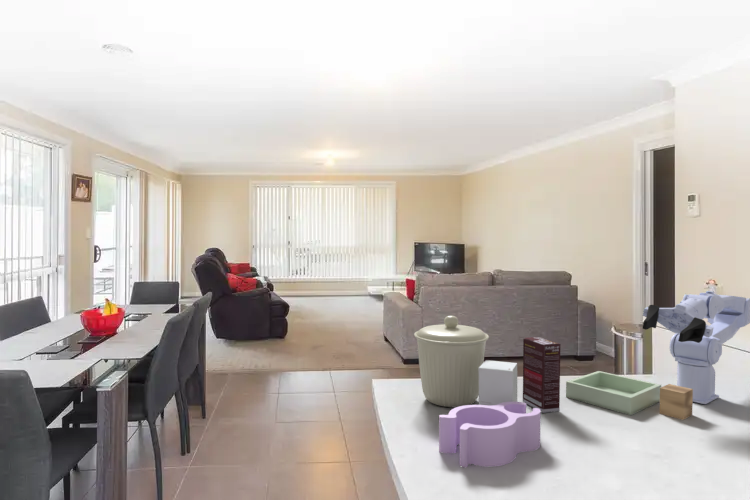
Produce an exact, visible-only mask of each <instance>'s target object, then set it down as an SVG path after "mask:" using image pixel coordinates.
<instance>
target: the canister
mask: <svg viewBox="0 0 750 500" xmlns="http://www.w3.org/2000/svg"><path fill="white" fill-rule="evenodd" d="M443 323H444V324H432V325H427V326H424V327H422V328H420V329H419V330H417V331H415V332H414V333H413V335H414V338H415V339H416V343H417V353H418V364H419V365H418V366H419V372H420V373H419V374H420V382H421V389H422V393H423V395H424V398H426V400H427V401H428V402H429V403H431V404H433V405H436V406H440V407H445V408H456V407H459V406H464V405H474V403H475V402H476V401H477V400H478V399H479V371H478V368H479V367H480V366H481V365H482V364H483V363H484V360H485V355H486V354H485V353H486V343H487V341H488V340H489V339H490V336H489V334H488V333H487V332H484V331H483V330H482V329H481V328H478V327H474V326H471V325H469V326H468V325H464V324H463V325H462V324H459V318H458V317H457V316H455V315H447V316H445V317H444V319H443Z"/></svg>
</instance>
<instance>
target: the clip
mask: <svg viewBox="0 0 750 500" xmlns="http://www.w3.org/2000/svg"><path fill="white" fill-rule="evenodd" d="M541 413H542V412H541V410H540V409H539V408H533V407H532V410H531V412H528V413H527V404H526V403H524V402H523V401H517V402H503V403H500V404H498V405H492V406H488V405H479V404H470V405H464V406H459V407H453V408H451V410H449V412H448V414H439V415H438V417H439V418H438V452H439V453H440V452H443V454H456V453H457V447H458V446H459V467H460V466H462V467H461V468H467V467H468V466H469V465H468V464H470V465H471V464H474V465H473V466H477V465H479V466H478V467H489V466H490V467H500V466H505V465H508V464H510V463H512V462H513V461H514V460H515V459H516V456H517V455H518V454H519V453H520V454H521V453H524V452H533V451H536V450H538V449H539V448H540V447H541ZM458 444H459V445H458ZM457 445H458V446H457Z"/></svg>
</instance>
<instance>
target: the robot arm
mask: <svg viewBox="0 0 750 500" xmlns="http://www.w3.org/2000/svg"><path fill="white" fill-rule="evenodd" d="M642 312H643V313H642V316H643V317H644V318H645V319H644V320H643V323H642V324H643V325H642V329H643V330H649V329H651V328H654V329H657V324H658V323H659V324H660V325H661V326H663V327H664V328H666V329H667V330H669V332H671V333H674V334H673V335H672V336H671V337H670V338H671V339H670V341H669V353H670V354H671V356H672V357H673V359H674V361H675V362H677V372H676V374H677V376H676V379H677V380H676V386H681V387H685V388H690V389H693V402H694V403H697V404H700V405H701V404H702V405H707V404H709V403H711V402H713V401H714V400H716V399H719V398H720V395H719V394H716V369H715V368H714V366H713V365H716V364H717V363H719V360H720V358H721V356H722V354H723V344H725V343H726V342H728V341H729V340H731V339H732V338H733V337H734V336H735V335H736V334H737V332H738V331H739V330H740V329H741V328H743V327H746V326H747V325H749V324H750V298H749V297H745V296H744V297H742V296H736V295H726V294H717V293H715V292H714V291H712V290H706V291H705V292H699V294H691V293H689V294H687V293H685V294H684V295H683V297H682V299H681V301H680V302H679V303H677V304H675V306H674V307H660V306H658V305H655V304H649V306H646V307H645V308H643V311H642ZM704 319H707V323H709V324H710V325H709V324H707V323H706V321H705V320H704Z"/></svg>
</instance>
